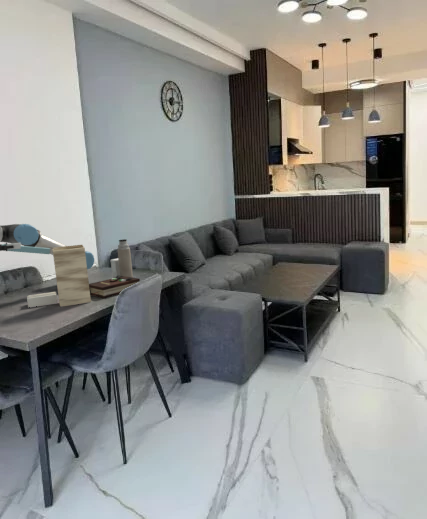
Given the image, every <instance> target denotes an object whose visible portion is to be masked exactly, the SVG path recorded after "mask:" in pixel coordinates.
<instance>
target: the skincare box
mask: <svg viewBox="0 0 427 519" xmlns="http://www.w3.org/2000/svg"><path fill="white" fill-rule="evenodd" d="M110 267H111V276H112V278H114V277H116V276H118V275H120V269H119V260H118V257H117V258H112V259H110Z"/></svg>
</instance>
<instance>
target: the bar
mask: <svg viewBox="0 0 427 519" xmlns="http://www.w3.org/2000/svg"><path fill="white" fill-rule="evenodd" d="M5 244H6V243H2V245H5ZM4 252H16V253H29V254H39V255H40V254H41V255H51V254H50V248H40V247H29V246H23V245H21V248H20V249H11V250H7V251H6V250H5V251H4Z"/></svg>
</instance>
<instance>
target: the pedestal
mask: <svg viewBox="0 0 427 519" xmlns="http://www.w3.org/2000/svg"><path fill="white" fill-rule="evenodd" d="M52 250H53V255H52V256H53V264H54V271H55V272H54V273H55V280H56V287H57V293H58V294H57V295H58V296H57V297H58V302H59V307H67V306H74V305H78V304H79V305H80V304H87V303H92V299H91V295H90V289H89V284H90V282H89V274H88V273H89V272H88V270H87V264H86V255H85V251H86V250H85V246H84V245H83V244H75V245H66V246H64V247H55V248H53V249H52Z"/></svg>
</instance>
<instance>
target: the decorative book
mask: <svg viewBox="0 0 427 519" xmlns="http://www.w3.org/2000/svg"><path fill="white" fill-rule="evenodd" d="M140 281H141V280H140V278H137V277H134V276H133V277H126V276H120V275H118V276H116V277H114V278H113V277H112V278H109V279H104V280H99V281H96V282H95V281H94V282H91V283H89V289H90V297H91V296H92V297H97V298H99V299H100V298H101V299H107V298H111V297H114V296H119V295H120V294H119V293H120V292H121V291H122V290H123V289H125V288H127V287H129V286H131V285H133V284H135V283H137V282H138V283H140ZM118 294H119V295H118Z"/></svg>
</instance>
